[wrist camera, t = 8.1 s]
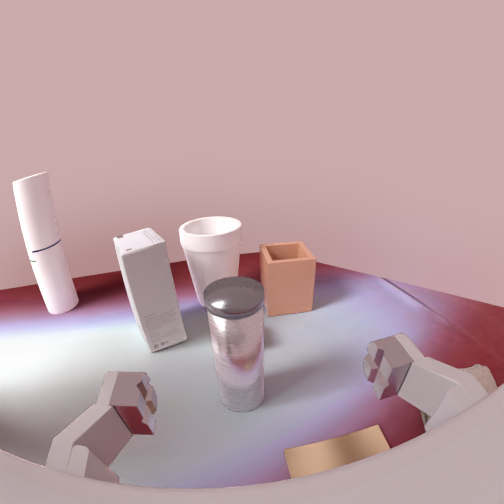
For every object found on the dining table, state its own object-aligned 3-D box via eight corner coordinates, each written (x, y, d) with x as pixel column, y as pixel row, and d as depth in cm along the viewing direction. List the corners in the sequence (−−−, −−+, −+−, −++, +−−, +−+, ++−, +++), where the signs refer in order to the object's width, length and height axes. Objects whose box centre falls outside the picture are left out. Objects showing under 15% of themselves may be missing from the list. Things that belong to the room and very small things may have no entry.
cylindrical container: (72, 313, 43) (36, 175, 32) (43, 315, 41) (5, 184, 31) (82, 293, 49) (54, 169, 39) (55, 296, 48) (25, 177, 38)
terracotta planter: (268, 316, 42) (267, 263, 39) (260, 292, 49) (259, 244, 45) (311, 310, 43) (316, 259, 40) (299, 288, 50) (301, 241, 46)
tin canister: (221, 415, 26) (202, 311, 21) (219, 381, 31) (203, 279, 25) (268, 409, 27) (269, 304, 21) (261, 377, 31) (259, 274, 26)
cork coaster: (306, 538, 13) (307, 537, 12) (283, 450, 22) (283, 449, 22) (412, 499, 14) (414, 498, 14) (376, 426, 23) (378, 424, 23)
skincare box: (188, 340, 38) (170, 241, 32) (149, 355, 35) (120, 254, 29) (168, 312, 44) (152, 224, 38) (134, 323, 41) (111, 234, 35)
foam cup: (221, 279, 54) (216, 213, 48) (256, 297, 47) (254, 223, 42) (179, 299, 48) (168, 227, 42) (212, 322, 41) (201, 241, 36)
